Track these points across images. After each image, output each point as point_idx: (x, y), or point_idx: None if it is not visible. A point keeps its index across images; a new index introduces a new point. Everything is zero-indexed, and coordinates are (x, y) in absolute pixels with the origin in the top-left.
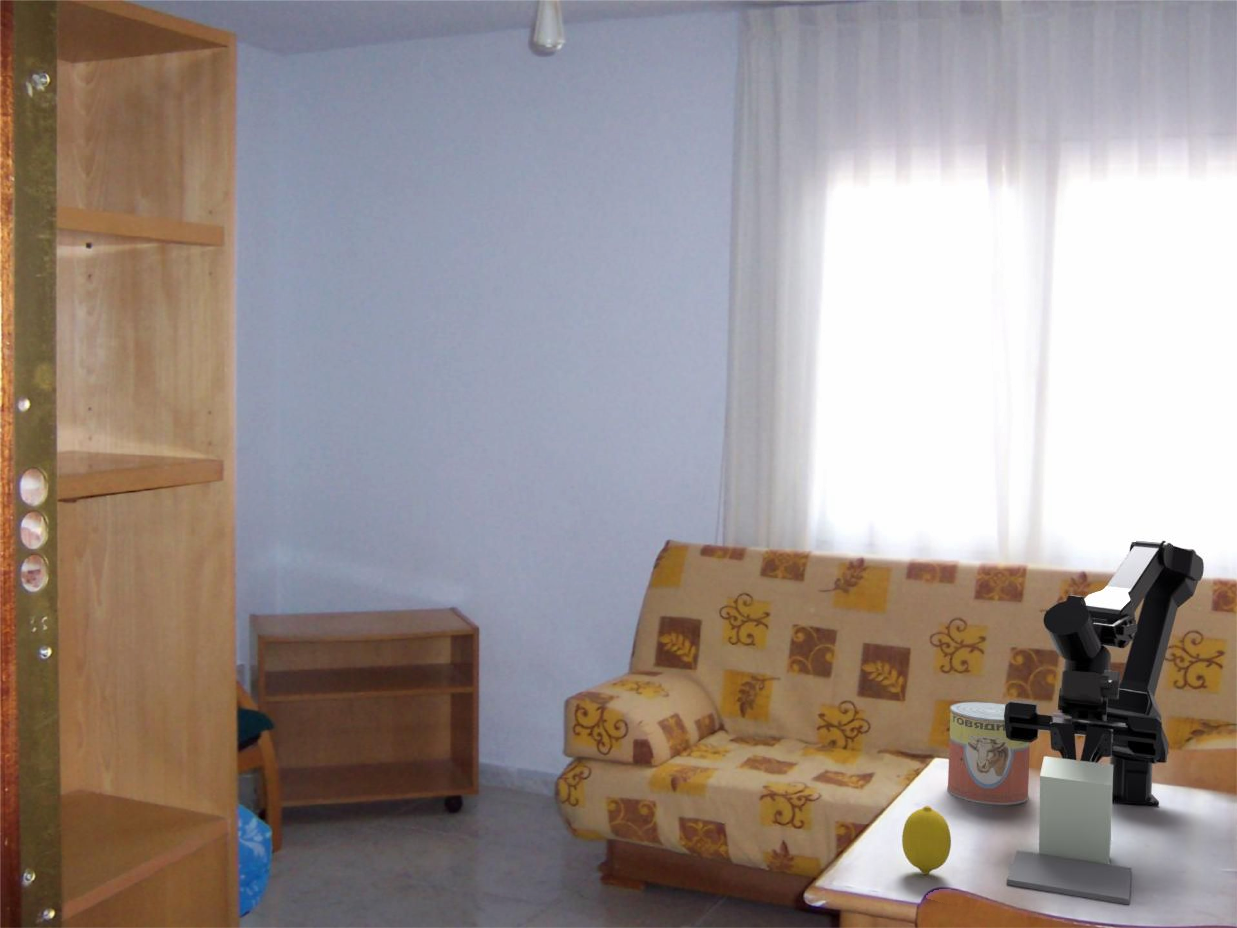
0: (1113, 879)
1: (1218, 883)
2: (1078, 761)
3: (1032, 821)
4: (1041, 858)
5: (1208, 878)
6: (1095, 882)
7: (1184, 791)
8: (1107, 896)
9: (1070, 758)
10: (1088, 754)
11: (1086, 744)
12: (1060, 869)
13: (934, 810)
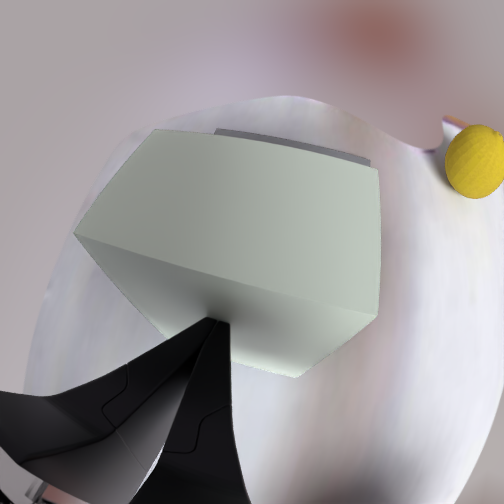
0: None
1: (74, 236)
2: (201, 259)
3: (283, 495)
4: None
5: (76, 252)
6: None
7: None
8: (241, 132)
9: (215, 396)
10: (118, 381)
11: (98, 426)
12: None
13: (492, 141)
